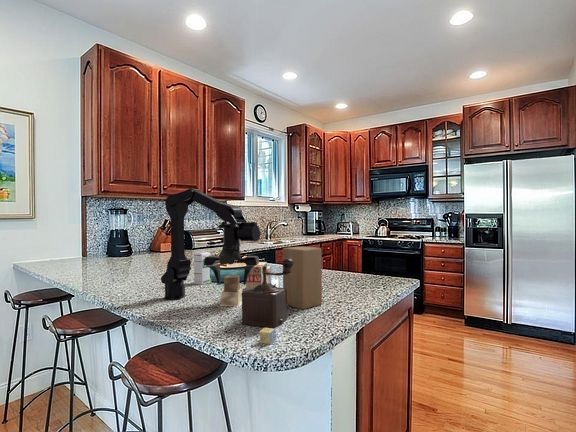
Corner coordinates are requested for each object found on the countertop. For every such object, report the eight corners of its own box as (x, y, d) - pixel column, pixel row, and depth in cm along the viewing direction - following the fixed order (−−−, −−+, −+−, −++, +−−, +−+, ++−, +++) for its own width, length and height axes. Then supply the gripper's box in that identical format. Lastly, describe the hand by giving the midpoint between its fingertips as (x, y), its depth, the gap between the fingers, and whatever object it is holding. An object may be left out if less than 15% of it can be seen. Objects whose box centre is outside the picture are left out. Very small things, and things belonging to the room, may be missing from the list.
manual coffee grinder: (275, 329, 93) (274, 264, 93) (240, 324, 97) (240, 262, 97) (296, 314, 107) (296, 257, 107) (265, 311, 111) (265, 256, 111)
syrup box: (202, 284, 155) (202, 253, 155) (193, 283, 159) (193, 252, 159) (211, 282, 160) (211, 252, 160) (202, 281, 163) (202, 251, 163)
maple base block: (221, 305, 117) (221, 292, 117) (226, 300, 123) (226, 288, 123) (238, 305, 117) (238, 292, 117) (242, 301, 123) (242, 288, 123)
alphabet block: (270, 345, 82) (270, 332, 82) (259, 343, 83) (259, 330, 83) (276, 340, 85) (275, 328, 85) (265, 338, 86) (265, 327, 86)
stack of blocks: (257, 286, 151) (257, 259, 152) (271, 286, 151) (271, 259, 151) (245, 297, 130) (245, 266, 130) (261, 298, 129) (261, 266, 129)
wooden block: (301, 299, 126) (301, 246, 126) (322, 304, 119) (322, 247, 119) (282, 304, 119) (282, 248, 119) (303, 310, 112) (302, 249, 112)
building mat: (202, 310, 112) (202, 309, 112) (215, 299, 127) (215, 298, 127) (240, 311, 111) (240, 309, 111) (249, 300, 126) (249, 298, 126)
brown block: (224, 292, 117) (224, 277, 117) (227, 289, 122) (227, 275, 122) (236, 292, 117) (236, 277, 117) (239, 289, 122) (239, 275, 122)
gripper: (198, 242, 113) (198, 289, 113) (253, 242, 111) (253, 290, 111) (208, 240, 124) (209, 282, 124) (259, 240, 122) (259, 283, 122)
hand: (231, 284), depth 120 cm, fingers open, 9 cm apart
